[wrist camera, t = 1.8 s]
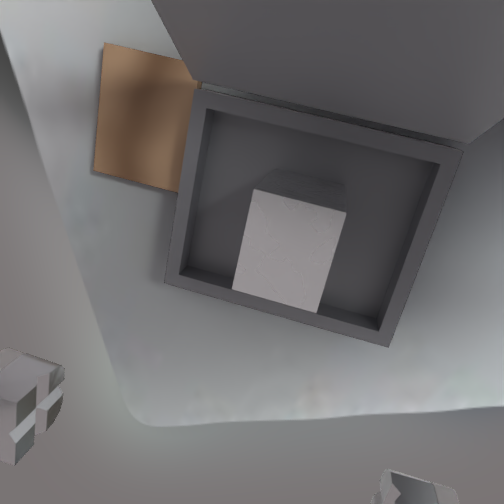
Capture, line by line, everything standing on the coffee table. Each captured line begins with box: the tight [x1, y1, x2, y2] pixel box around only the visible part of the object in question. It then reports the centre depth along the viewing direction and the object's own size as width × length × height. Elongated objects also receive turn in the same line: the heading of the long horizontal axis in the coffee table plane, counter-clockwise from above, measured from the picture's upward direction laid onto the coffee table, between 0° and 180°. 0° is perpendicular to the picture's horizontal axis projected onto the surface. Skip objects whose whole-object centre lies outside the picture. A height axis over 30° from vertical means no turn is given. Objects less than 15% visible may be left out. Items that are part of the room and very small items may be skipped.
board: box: [93, 43, 202, 193], centre depth 32 cm, size 7×9×1 cm
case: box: [164, 89, 463, 348], centre depth 31 cm, size 17×14×3 cm
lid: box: [151, 0, 504, 144], centre depth 19 cm, size 17×14×1 cm
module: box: [232, 168, 347, 313], centre depth 28 cm, size 5×6×8 cm
